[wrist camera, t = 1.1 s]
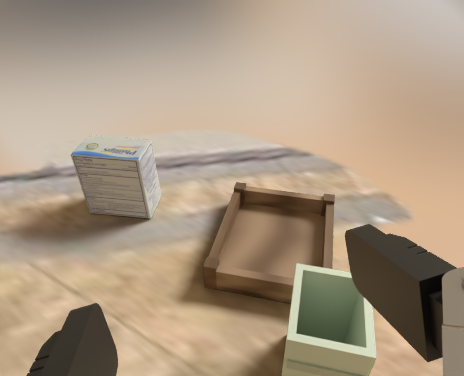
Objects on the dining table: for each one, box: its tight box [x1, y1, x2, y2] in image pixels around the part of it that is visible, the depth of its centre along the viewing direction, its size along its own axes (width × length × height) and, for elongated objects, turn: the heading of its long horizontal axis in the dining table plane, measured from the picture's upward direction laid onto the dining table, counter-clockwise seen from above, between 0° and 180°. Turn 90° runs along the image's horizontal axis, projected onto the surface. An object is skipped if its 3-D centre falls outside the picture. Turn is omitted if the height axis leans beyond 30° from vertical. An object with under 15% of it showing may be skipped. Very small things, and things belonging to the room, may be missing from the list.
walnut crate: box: [203, 182, 335, 304], centre depth 39 cm, size 12×14×3 cm
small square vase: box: [281, 263, 376, 376], centre depth 26 cm, size 5×6×9 cm
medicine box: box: [71, 136, 161, 219], centre depth 43 cm, size 8×4×9 cm, turn 81°
